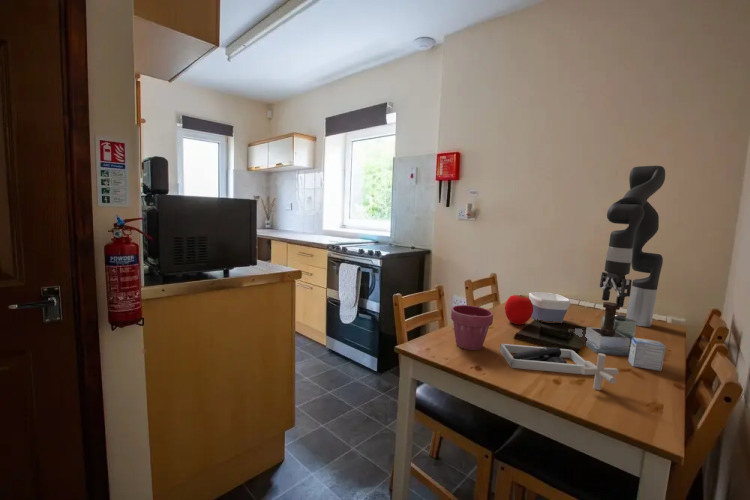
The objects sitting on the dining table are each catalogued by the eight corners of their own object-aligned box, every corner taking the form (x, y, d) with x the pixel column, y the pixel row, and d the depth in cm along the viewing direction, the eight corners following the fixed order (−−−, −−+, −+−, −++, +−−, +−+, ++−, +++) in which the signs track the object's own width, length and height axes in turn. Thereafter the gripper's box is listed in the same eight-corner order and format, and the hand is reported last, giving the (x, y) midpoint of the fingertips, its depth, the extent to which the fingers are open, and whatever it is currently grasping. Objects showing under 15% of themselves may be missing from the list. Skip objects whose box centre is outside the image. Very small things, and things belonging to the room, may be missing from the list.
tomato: (497, 320, 154) (500, 292, 152) (515, 318, 159) (518, 290, 157) (517, 329, 144) (521, 299, 142) (536, 326, 149) (539, 297, 147)
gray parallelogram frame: (499, 350, 120) (500, 343, 120) (571, 356, 119) (572, 349, 118) (511, 367, 107) (511, 359, 107) (591, 375, 106) (592, 367, 105)
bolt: (610, 341, 132) (615, 302, 130) (618, 346, 127) (624, 306, 125) (594, 339, 132) (599, 301, 131) (602, 344, 127) (607, 304, 126)
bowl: (572, 326, 151) (575, 302, 150) (536, 324, 152) (539, 299, 150) (554, 315, 167) (557, 293, 165) (522, 313, 167) (525, 291, 165)
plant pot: (466, 335, 133) (469, 302, 132) (498, 348, 122) (502, 313, 120) (440, 341, 125) (443, 307, 124) (471, 356, 114) (475, 319, 112)
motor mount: (567, 331, 145) (570, 307, 144) (622, 335, 143) (626, 312, 142) (596, 353, 123) (600, 325, 122) (661, 358, 122) (666, 331, 120)
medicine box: (655, 366, 115) (659, 341, 114) (661, 371, 111) (666, 345, 110) (627, 361, 118) (631, 336, 117) (632, 366, 114) (636, 341, 113)
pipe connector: (568, 379, 102) (573, 346, 101) (600, 379, 103) (605, 347, 102) (592, 398, 92) (598, 362, 91) (627, 398, 93) (633, 363, 92)
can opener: (553, 359, 116) (555, 343, 116) (568, 369, 109) (571, 352, 109) (505, 360, 113) (507, 344, 112) (518, 370, 106) (520, 353, 105)
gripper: (642, 263, 118) (635, 310, 120) (617, 257, 132) (611, 299, 134) (619, 262, 119) (612, 308, 121) (596, 256, 133) (591, 297, 135)
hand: (612, 303), depth 128 cm, fingers open, 8 cm apart
